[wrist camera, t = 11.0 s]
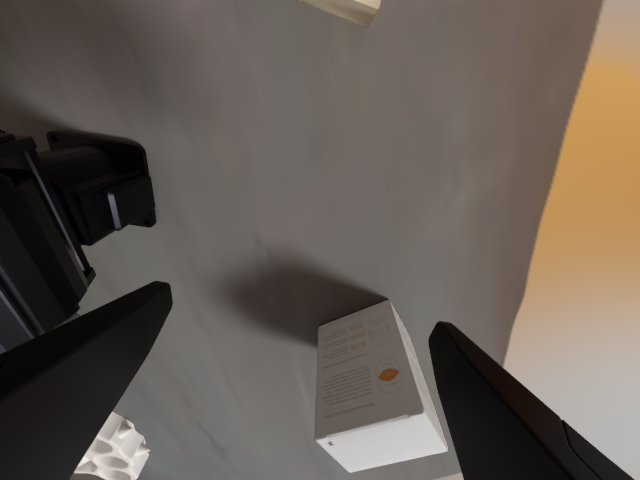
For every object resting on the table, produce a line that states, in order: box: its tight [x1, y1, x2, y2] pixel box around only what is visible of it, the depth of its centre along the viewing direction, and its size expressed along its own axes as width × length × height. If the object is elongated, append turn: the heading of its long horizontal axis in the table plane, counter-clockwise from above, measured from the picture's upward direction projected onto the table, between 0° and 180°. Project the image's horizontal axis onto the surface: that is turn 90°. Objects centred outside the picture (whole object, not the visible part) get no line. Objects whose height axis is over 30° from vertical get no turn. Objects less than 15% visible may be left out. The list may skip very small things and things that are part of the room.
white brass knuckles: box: [74, 412, 150, 480], centre depth 38 cm, size 3×18×15 cm
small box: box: [315, 300, 448, 473], centre depth 23 cm, size 8×6×10 cm
